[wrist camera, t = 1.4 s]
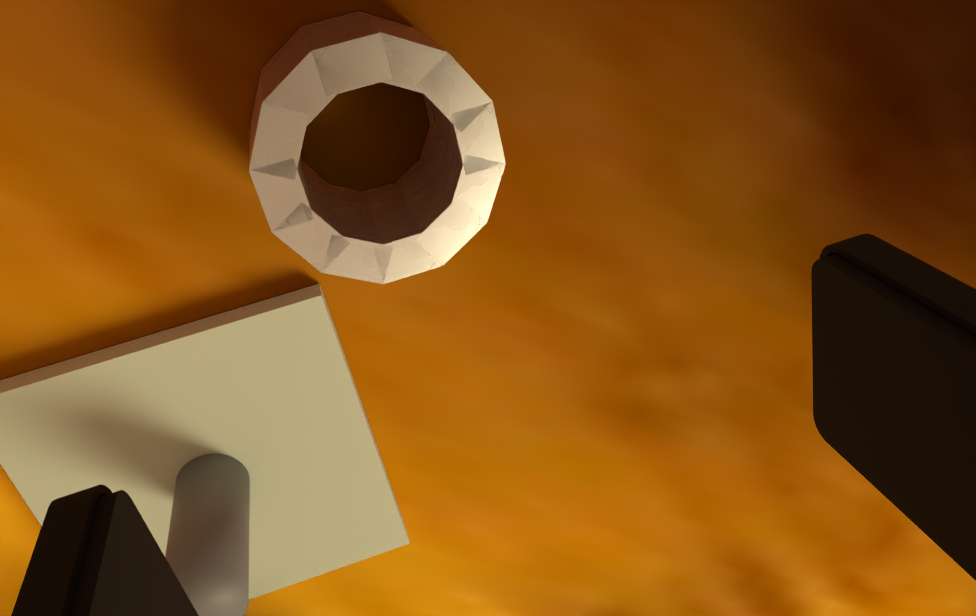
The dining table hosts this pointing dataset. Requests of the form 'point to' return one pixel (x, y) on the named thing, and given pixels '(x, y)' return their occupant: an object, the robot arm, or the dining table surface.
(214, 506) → the square base peg stand
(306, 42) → the white hollow cylinder
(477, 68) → the dining table surface
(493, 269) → the dining table surface
